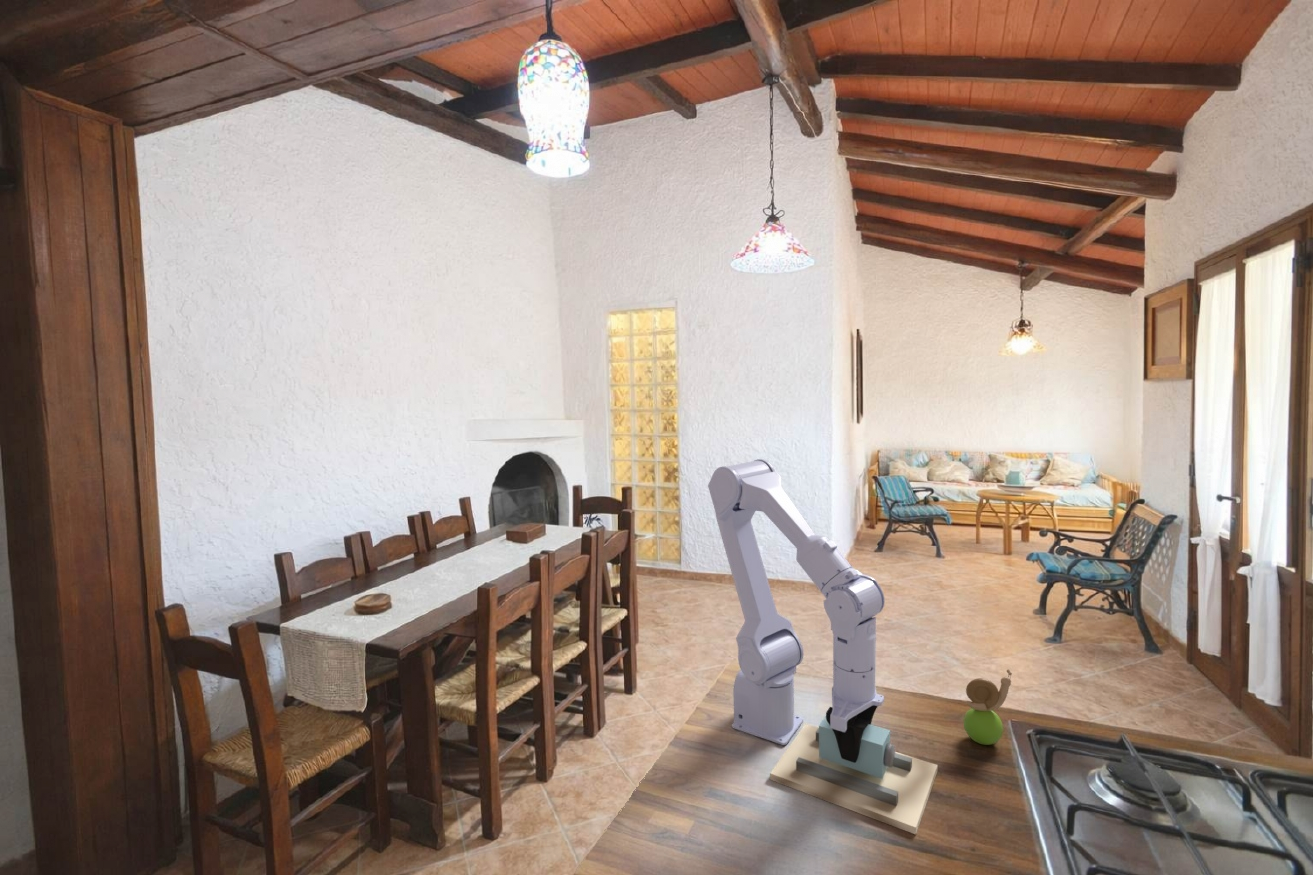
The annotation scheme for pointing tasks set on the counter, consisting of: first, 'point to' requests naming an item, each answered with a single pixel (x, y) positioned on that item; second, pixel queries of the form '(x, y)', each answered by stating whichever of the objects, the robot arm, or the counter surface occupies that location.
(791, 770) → the jig board
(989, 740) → the snail figurine
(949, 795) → the counter surface
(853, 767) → the pale blue tall carton
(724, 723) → the counter surface
